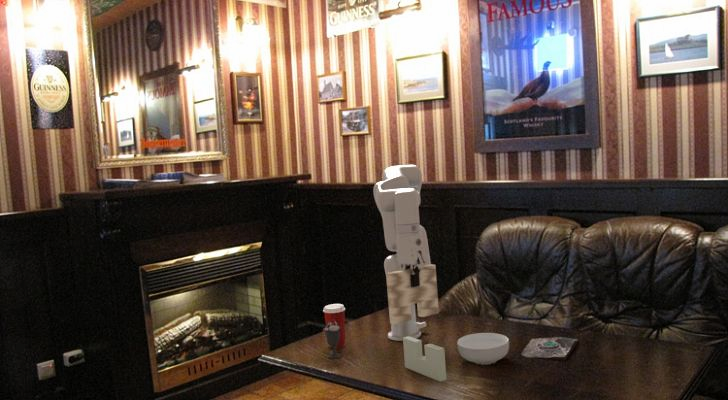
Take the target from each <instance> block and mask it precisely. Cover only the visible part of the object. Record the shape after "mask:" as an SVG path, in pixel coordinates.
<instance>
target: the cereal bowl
mask: <svg viewBox="0 0 728 400" xmlns="http://www.w3.org/2000/svg"><path fill="white" fill-rule="evenodd" d="M456 344H457V349H458V352H459V355H460V356H461V358H463V359H464V360H466V361H469V362H472V363H473V362H474V363H473V364H475V363H476V364H475V365H479V364H481V365H480V366H487V365H492V363H493V364H495V363H497V361H499V360H502V359H503V358H505V357H506V356H507V354H508V352H509V349H510V340H509V338H508V337H507V336H506V335H504V334H501V333H495V332H479V333H471V334H466V335H464V336H461V337H460V338H459V339H458V340H457V343H456Z"/></svg>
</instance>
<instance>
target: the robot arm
mask: <svg viewBox="0 0 728 400" xmlns="http://www.w3.org/2000/svg"><path fill="white" fill-rule="evenodd" d="M381 179H382V180H381V181H379V182H376V183H375V184H374V186H373V197H374V201H375V204H376V206H377V209H378V211H379V213H380V216H381V218H382V227H383V233H384V241H385V242H384V243H385V246H386V249H387V250H388V251H389V252H396V253H395V254H391V255H388V256H386V258H385V259H384V263H383V267H384V272H385V274H386V273H390V272H395V271H400V270H405V269H410V268H411V274H412V275H410V279H411V287H416V286H420V279H419V274H420V270H421V269H422V268H424V267H425V266H424V265H429V264H432V262H431V256H430V249H429V248H430V247H429V243H428V242H429V240H428V236H427V231H426V229H425V227H424V226H422V225H421V224H420V212H419V211H420V209H419V206H420V205H421V200H422V199H421V189H422V185H423V174H422V171H421V169H420V168H419V167H418V165H416V164H404V165H393V166H389V167H387V168H385V169H384V170H383V172H382V174H381ZM414 267H415V269H414ZM415 304H416V303H415ZM415 304H411V317H412V320H410V321H406V322H402V323H398V324H391V323H390V326H391V331H389V332H388V333H387V338H388V339H389V340H391V341H396V342H403V338H404V337H407V336H410V337H413V338H416V339H419V338H420V337H421V336H422V332H421V330H420V329H422V328H425V327H427V322H426V321H422V322H419V321H417V318H416V305H415Z"/></svg>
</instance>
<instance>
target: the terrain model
mask: <svg viewBox="0 0 728 400" xmlns="http://www.w3.org/2000/svg"><path fill="white" fill-rule="evenodd" d="M578 343H579V339H578V338H570V337H563V336H548V337H547V336H546V337H539V338H531V339H530V341H529V343H528V344H527V345H526V346H525V347H524V349H523V350H522V352H521V353H520V354H521V356H523V357H525V358H530V359H531V358H532V359H543V360H553V361H561V362H565V361H566V360H567V359H568V357H569V356H570V355H571V353H572V352H573V349H574V348H575V347H576V346H577V345H578Z"/></svg>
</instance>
